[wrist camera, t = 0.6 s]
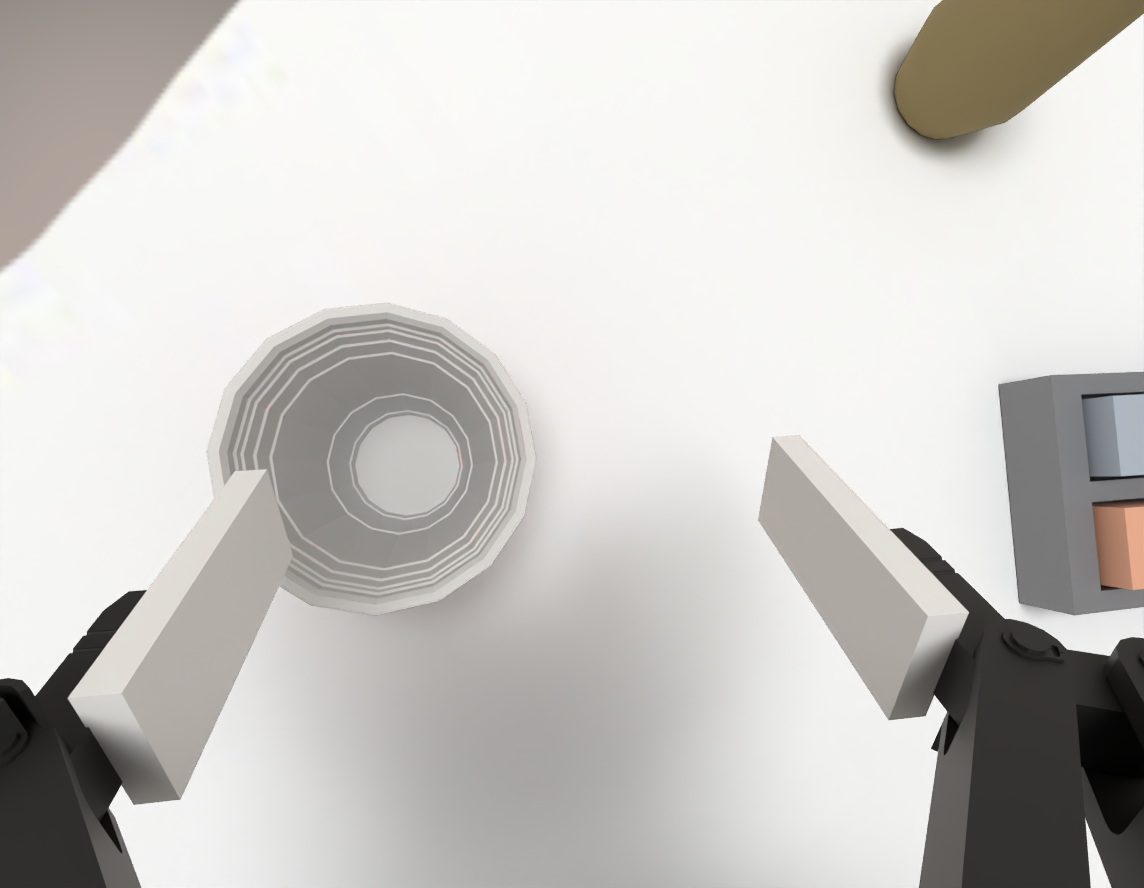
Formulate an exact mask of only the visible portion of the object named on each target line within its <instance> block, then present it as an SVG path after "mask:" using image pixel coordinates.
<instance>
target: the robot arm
mask: <svg viewBox="0 0 1144 888" xmlns="http://www.w3.org/2000/svg"><path fill="white" fill-rule="evenodd" d="M758 521H759V522H760V524H761V525H762V527H763V528H764V530H765V532H766V533H767V535H768V536H769V538H770V539H771V541H772V542H773V544H774V545H775V547H776V548H777V550H778V551H779V553H780V554H781V556H782V558H783V559H784V561H785V562H786V564H787V565H788V567H789V568H790V570H791V571H792V573H793V574H794V576H795V577H796V579H797V581H798V582H799V584H800V585H801V587H802V588H803V590H804V591H805V593H806V594H807V596H808V597H809V599H810V600H811V602H812V604H813V605H814V607H815V608H816V610H817V611H818V613H819V614H820V616H821V617H822V619H823V620H824V622H825V623H826V625H827V626H828V628H829V630H830V631H831V633H832V634H833V636H834V637H835V639H836V640H837V642H838V643H839V645H840V646H841V648H842V649H843V651H844V653H845V654H846V656H847V657H848V659H849V660H850V662H851V663H852V665H853V666H854V668H855V669H856V671H857V672H858V674H859V675H860V677H861V679H862V680H863V682H864V683H865V685H866V686H867V688H868V689H869V691H870V692H871V694H872V695H873V697H874V698H875V700H876V702H877V703H878V705H879V706H880V708H881V709H882V711H883V712H884V714H885V715H886V717H887V718H888V720H895V719H904V718H912V717H921V716H926V713H927V711H928V709H929V706H930V704H931V702H932V699H933V697H934V695H935V696H936V697H937V699H938V700H939V701H940V702H941V704H942V705H943V706H944V708H945V709H946V710H947V714H946V716H945V718H944V721H943V723H942V725H941V727H940V730H939V732H938V734H937V736H936V739H935V741H934V743H933V745H932V748H931V749H933V750H935V751H938V757H937V764H936V771H935V778H934V785H933V792H932V800H931V807H930V814H929V821H928V828H927V835H926V842H925V849H924V856H923V863H922V870H921V877H920V884H919V888H1091V886H1090V874H1089V861H1088V849H1087V836H1086V824H1085V818H1086V821H1087V823H1088V826H1089V829H1090V831H1091V834H1092V837H1093V839H1094V842H1095V845H1096V847H1097V850H1098V853H1099V855H1100V858H1101V860H1102V863H1103V866H1104V868H1105V871H1106V874H1107V876H1108V879H1109V882H1110V884H1111V887H1112V888H1144V638H1135V637H1131V638H1127V639H1123V640H1120V642H1119V643H1118V645H1117V646H1116V647H1115V649H1114V651H1113V652H1112V654H1111V656H1105V655H1099V654H1092V653H1086V652H1080V651H1073V650H1067V649H1066V648H1065V647H1064V646H1063V645H1062V644H1061V643H1060V642H1059V641H1058V640H1057V639H1056V638H1054V637H1053V636H1051V635H1050V634H1048V633H1047V632H1045V631H1044V630H1042V629H1040V628H1037V627H1035V626H1033V625H1030V624H1028V623H1025V622H1021V621H1017V620H1012V619H1004V618H1003V617H1002V616H1001V615H1000V614H999V613H998V612H997V611H996V610H995V609H994V608H993V607H992V606H991V605H990V604H989V603H988V602H987V601H986V600H985V599H984V598H983V597H982V596H981V595H980V594H979V593H978V592H977V591H976V590H975V589H974V588H973V587H972V586H971V585H970V584H969V583H968V582H967V581H965V580H964V579H963V578H962V577H961V576H960V575H959V574H958V573H955V570H954V569H953V568H952V567H951V566H950V565H949V564H948V563H947V562H946V561H945V560H942V557H941V556H940V555H939V554H938V553H937V552H936V551H935V550H934V549H933V548H932V547H931V546H930V545H929V544H928V543H927V542H926V541H924V540H923V539H921V538H919V537H918V536H916V535H914V534H912V533H911V532H909V531H907V530H906V529H904V528H897V529H889V528H888V527H887V526H886V525H885V524H884V523H883V522H882V521H881V520H880V519H879V518H878V517H877V516H876V515H875V514H874V513H873V511H872V510H871V509H870V508H869V507H868V506H867V505H866V504H865V503H864V502H863V501H862V500H861V499H860V498H859V497H858V496H857V495H856V494H855V493H854V492H853V491H852V490H851V489H850V487H849V486H848V485H847V484H846V483H845V482H844V481H843V480H842V479H841V478H840V477H839V476H838V475H837V474H836V473H835V472H834V471H833V470H832V469H831V468H830V467H829V466H828V465H827V463H826V462H825V461H824V460H823V459H822V458H821V457H820V456H819V455H818V454H817V453H816V452H815V451H814V450H813V449H812V448H811V447H810V446H809V445H808V444H807V443H806V442H805V440H804V439H803V438H802V437H801V436H800V435H799V436H783V437H772V443H771V449H770V455H769V460H768V466H767V472H766V478H765V483H764V489H763V495H762V501H761V506H760V512H759V518H758ZM292 557H293V555H292V551H291V548H290V545H289V541H288V538H287V535H286V531H285V528H284V524H283V521H282V518H281V514H280V511H279V508H278V504H277V501H276V498H275V494H274V491H273V488H272V484H271V481H270V478H269V474H268V471H267V469H263V470H247V471H235V472H234V473H233V474H232V476H231V477H230V479H229V480H228V481H227V483H226V484H225V485H224V487H223V488H222V489H221V491H220V492H219V493H218V495H217V496H216V498H215V499H214V500H213V502H212V503H211V504H210V506H209V507H208V508H207V510H206V511H205V512H204V514H203V515H202V517H201V518H200V519H199V521H198V522H197V523H196V525H195V526H194V527H193V529H192V530H191V531H190V533H189V534H188V535H187V537H186V538H185V540H184V541H183V542H182V544H181V545H180V546H179V548H178V549H177V550H176V552H175V553H174V554H173V556H172V557H171V559H170V560H169V561H168V563H167V564H166V565H165V567H164V568H163V569H162V571H161V572H160V573H159V575H158V576H157V578H156V579H155V580H154V582H153V583H152V584H151V586H150V587H149V588H148V590H143V591H130V592H128V593H126V594H125V595H124V596H122V597H121V598H120V599H118V600H117V601H116V602H114V603H113V604H112V605H110V606H109V607H108V608H106V609H105V610H104V611H103V612H102V613H101V614H100V616H99V617H98V618H97V619H96V621H95V622H94V623H93V625H92V626H91V627H90V628H89V630H88V631H87V635H86V636H83V637H82V638H81V640H80V641H79V642H78V643H77V645H76V646H75V647H74V648H73V653H70V654H69V655H68V656H67V657H66V658H65V660H64V661H63V662H62V664H61V665H60V666H59V667H58V669H57V670H56V671H55V672H54V674H53V675H52V676H51V677H50V679H49V680H48V681H47V682H46V684H45V685H44V686H43V687H42V689H41V690H40V691H39V692H38V694H37V695H36V696H34V694H33V693H32V691H31V690H30V688H29V687H28V686H27V685H26V684H25V683H24V682H23V681H22V680H17V679H10V678H6V679H0V888H141V886H140V883H139V880H138V878H137V875H136V872H135V870H134V867H133V864H132V862H131V859H130V856H129V854H128V851H127V848H126V846H125V843H124V840H123V838H122V835H121V832H120V830H119V827H118V824H117V822H116V819H115V817H114V815H113V814H112V812H111V811H110V809H109V808H108V807H109V806H110V804H111V802H112V800H113V798H114V797H115V795H116V793H117V791H118V790H119V788H120V786H121V785H122V786H123V788H124V790H125V791H126V793H127V794H128V796H129V798H130V799H131V801H132V803H133V804H134V805H135V804H144V803H153V802H162V801H171V800H180V799H181V797H182V795H183V793H184V791H185V788H186V786H187V784H188V782H189V780H190V778H191V775H192V773H193V771H194V769H195V767H196V765H197V762H198V760H199V758H200V756H201V754H202V752H203V749H204V747H205V745H206V743H207V741H208V739H209V736H210V734H211V732H212V730H213V728H214V726H215V723H216V721H217V719H218V717H219V715H220V713H221V710H222V708H223V706H224V704H225V702H226V700H227V697H228V695H229V693H230V691H231V689H232V687H233V684H234V682H235V680H236V678H237V676H238V674H239V672H240V669H241V667H242V665H243V663H244V661H245V659H246V656H247V654H248V652H249V650H250V648H251V646H252V643H253V641H254V639H255V637H256V635H257V633H258V630H259V628H260V626H261V624H262V622H263V620H264V617H265V615H266V613H267V611H268V609H269V607H270V604H271V602H272V600H273V598H274V596H275V594H276V591H277V589H278V587H279V585H280V583H281V581H282V578H283V576H284V574H285V572H286V570H287V568H288V566H289V563H290V561H291V559H292Z"/></svg>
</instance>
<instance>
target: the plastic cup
mask: <svg viewBox="0 0 1144 888" xmlns="http://www.w3.org/2000/svg"><path fill="white" fill-rule="evenodd" d="M207 456H208V463H209V469H210V475H211V482H212V488H213V494H214V499H215V498H216V496H217V495H218V493H219V492H220V491H221V489H222V488H223V487H224V485H225V484H226V483H227V481H228V480H229V479H230V477H231V476H232V474H233V473H234V472H235V471H247V470H263V469H267V471H268V474H269V478H270V481H271V484H272V488H273V491H274V494H275V498H276V501H277V504H278V508H279V511H280V514H281V518H282V521H283V524H284V528H285V531H286V535H287V538H288V541H289V545H290V548H291V551H292V555H293V557H292V559H291V561H290V563H289V566H288V568H287V570H286V572H285V574H284V576H283V578H282V581H281V583H280V585H279V586H280V587H282V588H283V589H285V590H287V591H288V592H290V593H291V594H293V595H295V596H296V597H298V598H300V599H301V600H303V601H304V602H306V603H308V604H309V605H312V606H318V607H325V608H331V609H338V610H344V611H350V612H357V613H363V614H369V615H380V614H385V613H389V612H393V611H398V610H402V609H407V608H411V607H415V606H420V605H424V604H428V603H433V602H437V601H440V600H441V599H443V598H444V597H446V596H447V595H449V594H450V593H452V592H453V591H454V590H456V589H457V588H459V587H460V586H462V585H463V584H465V583H466V582H468V581H469V580H471V579H472V578H473V577H475V576H476V575H478V574H479V573H481V572H482V571H484V570H485V569H487V568H488V567H489V566H491V564H492V563H493V562H494V560H495V559H496V557H497V556H498V554H499V553H500V551H501V550H502V548H503V547H504V545H505V544H506V542H507V541H508V539H509V538H510V536H511V535H512V533H513V532H514V530H515V529H516V527H517V526H518V524H519V523H520V521H521V520H522V518H523V517H524V514H525V510H526V505H527V500H528V495H529V491H530V486H531V481H532V476H533V472H534V467H535V462H536V456H535V450H534V445H533V439H532V434H531V428H530V423H529V417H528V412H527V406H526V402H525V401H524V399H523V397H522V396H521V394H520V393H519V391H518V390H517V388H516V386H515V385H514V383H513V382H512V380H511V378H510V377H509V375H508V374H507V372H506V371H505V369H504V367H503V366H502V364H501V363H500V361H499V359H498V358H497V356H496V355H495V354H494V353H493V352H492V351H490V350H489V349H488V348H486V347H485V346H483V345H482V344H481V343H479V342H478V341H477V340H475V339H474V338H473V337H471V336H470V335H468V334H467V333H466V332H464V331H463V330H462V329H460V328H459V327H458V326H456V325H455V324H453V323H452V322H451V321H449V320H448V319H446V318H442V317H438V316H435V315H431V314H427V313H424V312H420V311H416V310H413V309H409V308H405V307H402V306H398V305H394V304H390V303H380V304H370V305H360V306H350V307H340V308H330V309H324V310H322V311H320V312H318V313H316V314H314V315H312V316H310V317H308V318H306V319H304V320H302V321H300V322H298V323H296V324H294V325H293V326H291V327H289V328H287V329H285V330H283V331H281V332H279V333H277V334H275V335H273V336H271V337H269V338H267V339H266V340H265V341H264V343H263V344H262V345H261V346H260V347H259V349H258V350H257V351H256V352H255V353H254V354H253V356H252V357H251V358H250V359H249V360H248V362H247V363H246V364H245V365H244V366H243V368H242V369H241V370H240V371H239V372H238V373H237V375H236V376H235V377H234V378H233V379H232V381H231V382H230V383H229V384H228V385H227V386H226V388H225V389H224V393H223V396H222V400H221V403H220V407H219V410H218V414H217V417H216V421H215V424H214V428H213V431H212V434H211V438H210V441H209V445H208V448H207Z"/></svg>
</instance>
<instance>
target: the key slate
mask: <svg viewBox="0 0 1144 888" xmlns="http://www.w3.org/2000/svg"><path fill="white" fill-rule="evenodd" d="M1082 408H1083V417H1084V427H1085V437H1086V447H1087V457H1088V467H1089V476H1132V475H1144V394H1140V395H1118V396H1107V397H1099V398H1091V399H1083V400H1082Z"/></svg>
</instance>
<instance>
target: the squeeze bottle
mask: <svg viewBox="0 0 1144 888" xmlns="http://www.w3.org/2000/svg"><path fill="white" fill-rule="evenodd" d="M1142 14H1144V0H942V1H941V2H940V3H939V4H938V5H937V6H935V7H934V8H933V10H932V12H931V13H930V15H929V17H928V18H927V20H926V22H925V23H924V25H923V27H922V28H921V30H920V32H919V34H918V36H917V38H916V40H915V41H914V43H913V45H912V47H911V49H910V51H909V53H908V54H907V56H906V58H905V60H904V62H903V64H902V66H901V67H900V69H899V71H898V73H897V75H896V82H895V89H894V93H895V97H896V102H897V106H898V110H899V111H900V113H901V114H902V116H903V117H904V119H905V121H906V122H907V124H908V125H909V126H911V127H912V128H913V129H914V130H916V131H917V132H918V133H920V134H921V135H923V136H926V137H930V138H933V139H936V140H938V139H946V138H953V137H956V136H960V135H963V134H967V133H970V132H973V131H977V130H980V129H984V128H987V127H991V126H994V125H998V124H1001V123H1005V122H1006V121H1008V120H1009V119H1011V118H1012V117H1014V116H1015V115H1017V114H1018V113H1019V112H1021V111H1022V110H1024V109H1025V108H1026V107H1027V106H1029V105H1030V104H1031V103H1032V102H1034V101H1035V100H1036V99H1037V98H1039V97H1040V96H1041V95H1042V94H1044V93H1045V92H1046V91H1047V90H1049V89H1050V88H1051V87H1052V86H1054V85H1055V84H1056V83H1057V82H1059V81H1060V80H1061V79H1062V78H1064V77H1065V76H1066V75H1067V74H1069V73H1070V72H1071V71H1072V70H1074V69H1075V68H1076V67H1077V66H1079V65H1080V64H1081V63H1082V62H1084V61H1085V60H1086V59H1087V58H1089V57H1090V56H1091V55H1092V54H1094V53H1095V52H1096V51H1097V50H1099V49H1100V48H1101V47H1102V46H1104V45H1105V44H1106V43H1107V42H1109V41H1110V40H1111V39H1112V38H1114V37H1115V36H1116V35H1117V34H1119V33H1120V32H1121V31H1122V30H1124V29H1125V28H1126V27H1127V26H1129V25H1130V24H1131V23H1132V22H1134V21H1135V20H1136V19H1137V18H1139V17H1140V16H1141V15H1142Z"/></svg>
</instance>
